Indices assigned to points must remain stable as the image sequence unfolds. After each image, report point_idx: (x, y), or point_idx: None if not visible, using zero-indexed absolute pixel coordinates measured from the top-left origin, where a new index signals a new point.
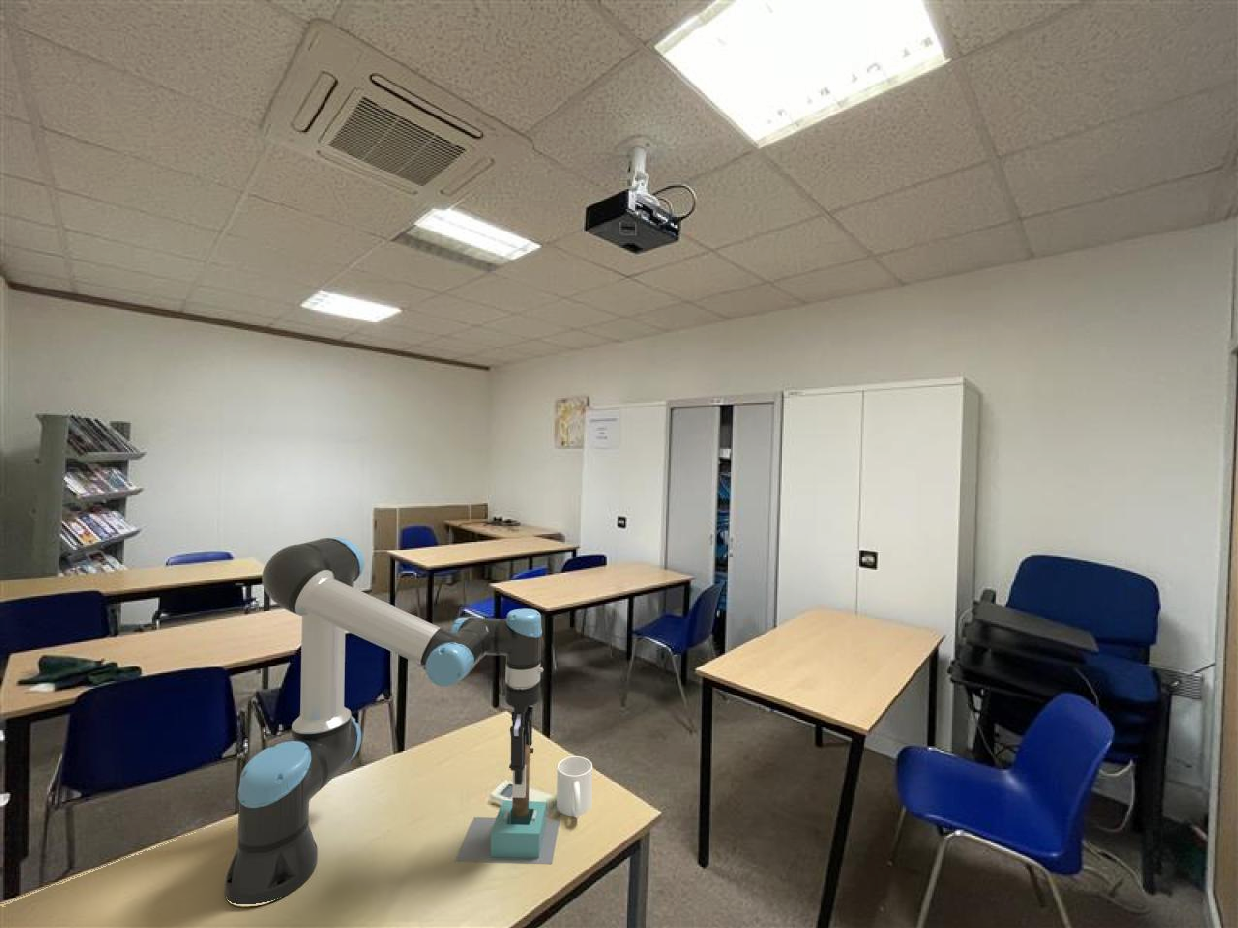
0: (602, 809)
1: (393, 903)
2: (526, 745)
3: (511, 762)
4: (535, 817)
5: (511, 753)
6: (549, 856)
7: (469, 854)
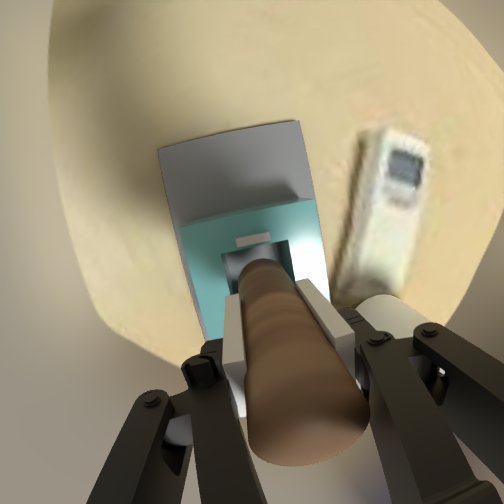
0: None
1: (70, 105)
2: (350, 436)
3: (122, 433)
4: None
5: (101, 480)
6: None
7: (183, 169)
